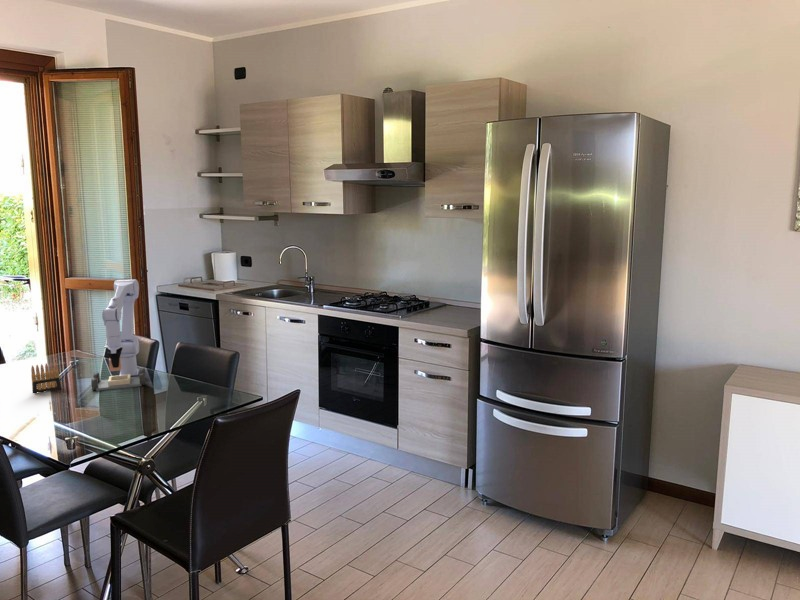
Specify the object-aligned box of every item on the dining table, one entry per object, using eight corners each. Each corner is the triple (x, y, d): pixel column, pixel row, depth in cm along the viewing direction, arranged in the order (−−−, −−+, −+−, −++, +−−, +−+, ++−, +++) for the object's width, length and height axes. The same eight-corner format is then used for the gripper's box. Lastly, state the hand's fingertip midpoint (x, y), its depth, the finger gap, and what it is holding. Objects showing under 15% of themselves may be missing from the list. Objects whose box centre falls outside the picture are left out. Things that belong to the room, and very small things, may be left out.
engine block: (110, 368, 292) (109, 356, 291) (121, 367, 293) (120, 355, 292) (109, 371, 288) (108, 358, 287) (120, 370, 289) (119, 357, 288)
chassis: (95, 382, 295) (94, 371, 294) (145, 377, 302) (145, 366, 301) (92, 391, 282) (91, 380, 281) (145, 386, 289) (144, 374, 288)
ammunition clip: (33, 393, 281) (30, 366, 279) (32, 392, 282) (29, 365, 280) (61, 388, 287) (58, 361, 285) (60, 387, 288) (57, 361, 286)
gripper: (105, 332, 294) (107, 362, 296) (101, 339, 280) (104, 371, 282) (122, 331, 296) (124, 361, 298) (120, 338, 282) (122, 369, 285)
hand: (116, 365), depth 290 cm, fingers closed on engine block, 4 cm apart
